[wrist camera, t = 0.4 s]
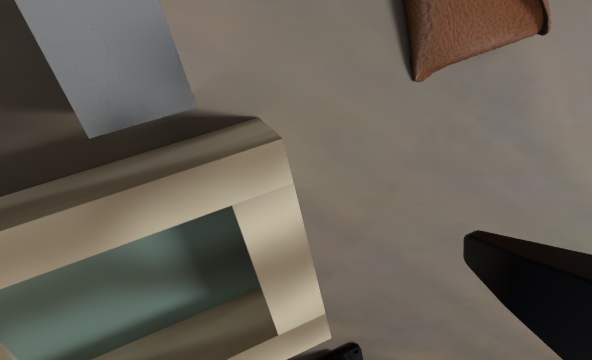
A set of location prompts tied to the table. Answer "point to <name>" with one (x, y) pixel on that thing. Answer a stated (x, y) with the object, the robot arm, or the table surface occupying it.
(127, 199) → the well
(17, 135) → the table surface
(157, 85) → the grey rectangular block
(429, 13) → the sunglasses case
